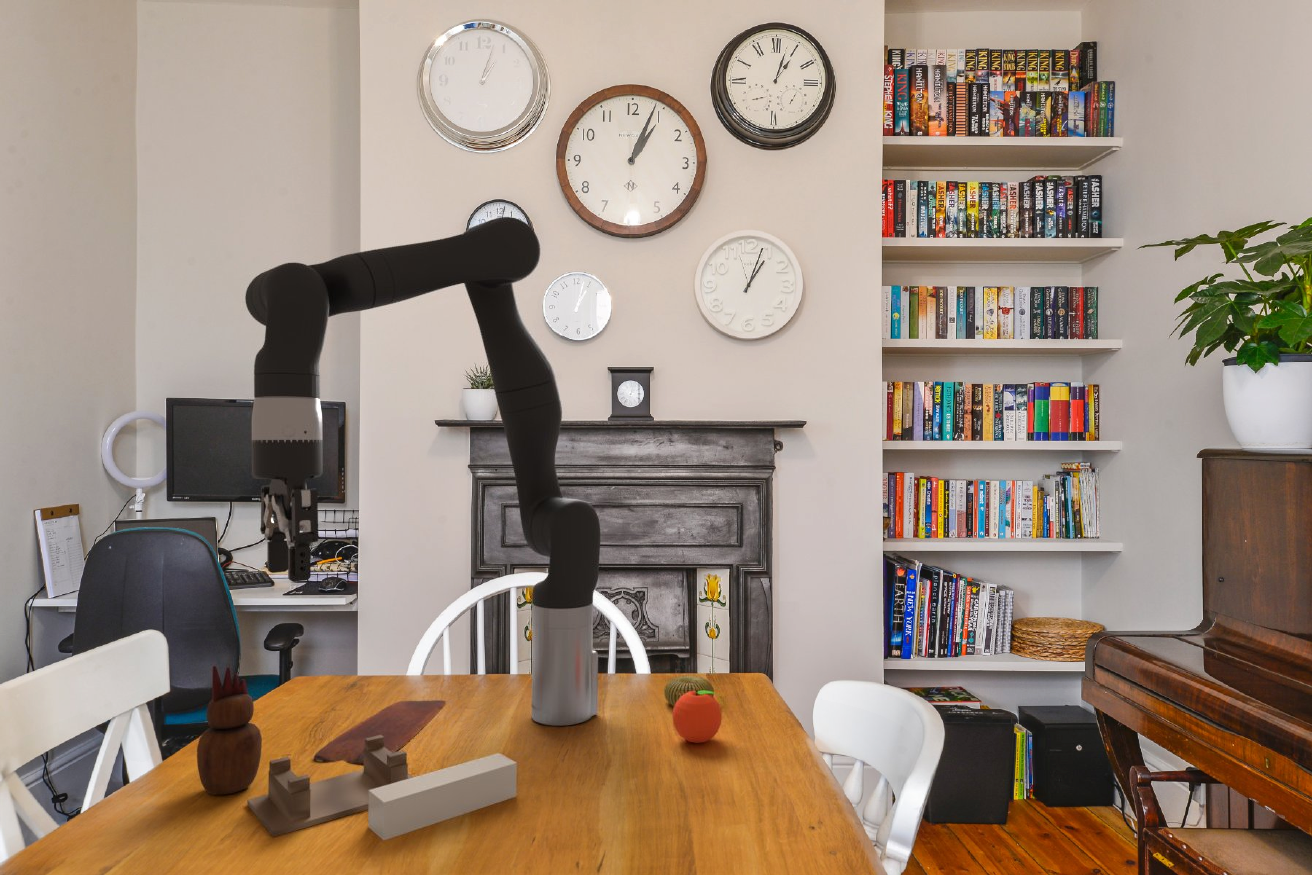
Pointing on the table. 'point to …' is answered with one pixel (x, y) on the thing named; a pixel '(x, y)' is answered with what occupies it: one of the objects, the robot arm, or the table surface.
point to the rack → (325, 790)
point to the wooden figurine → (229, 738)
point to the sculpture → (679, 686)
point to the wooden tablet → (381, 730)
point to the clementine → (697, 716)
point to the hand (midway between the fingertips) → (288, 576)
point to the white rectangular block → (440, 795)
